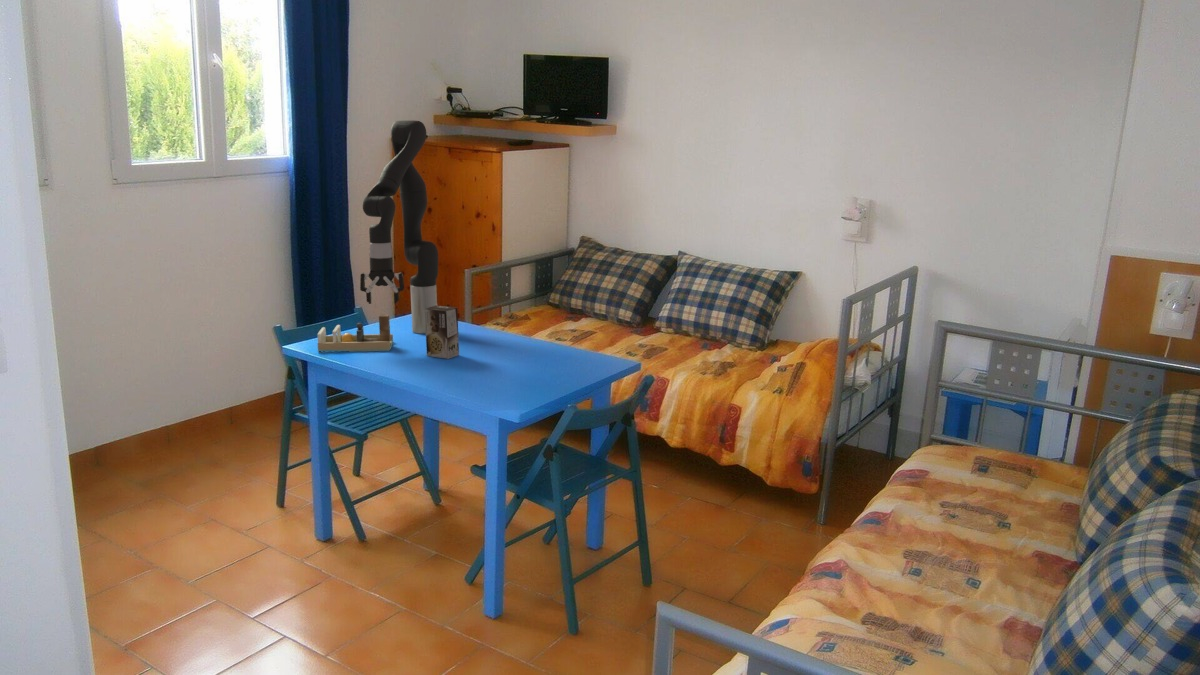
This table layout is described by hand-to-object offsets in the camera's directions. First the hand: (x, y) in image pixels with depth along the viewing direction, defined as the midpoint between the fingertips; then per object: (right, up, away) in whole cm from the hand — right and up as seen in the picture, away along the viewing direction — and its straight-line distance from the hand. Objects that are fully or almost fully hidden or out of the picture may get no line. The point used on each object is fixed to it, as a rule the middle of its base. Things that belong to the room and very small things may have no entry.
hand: (382, 303), depth 317 cm
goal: (-18, -15, +1) cm, 24 cm away
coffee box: (+22, -18, -8) cm, 29 cm away
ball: (-12, -12, +1) cm, 17 cm away
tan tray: (-10, -15, +2) cm, 18 cm away
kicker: (-4, -13, +3) cm, 14 cm away
